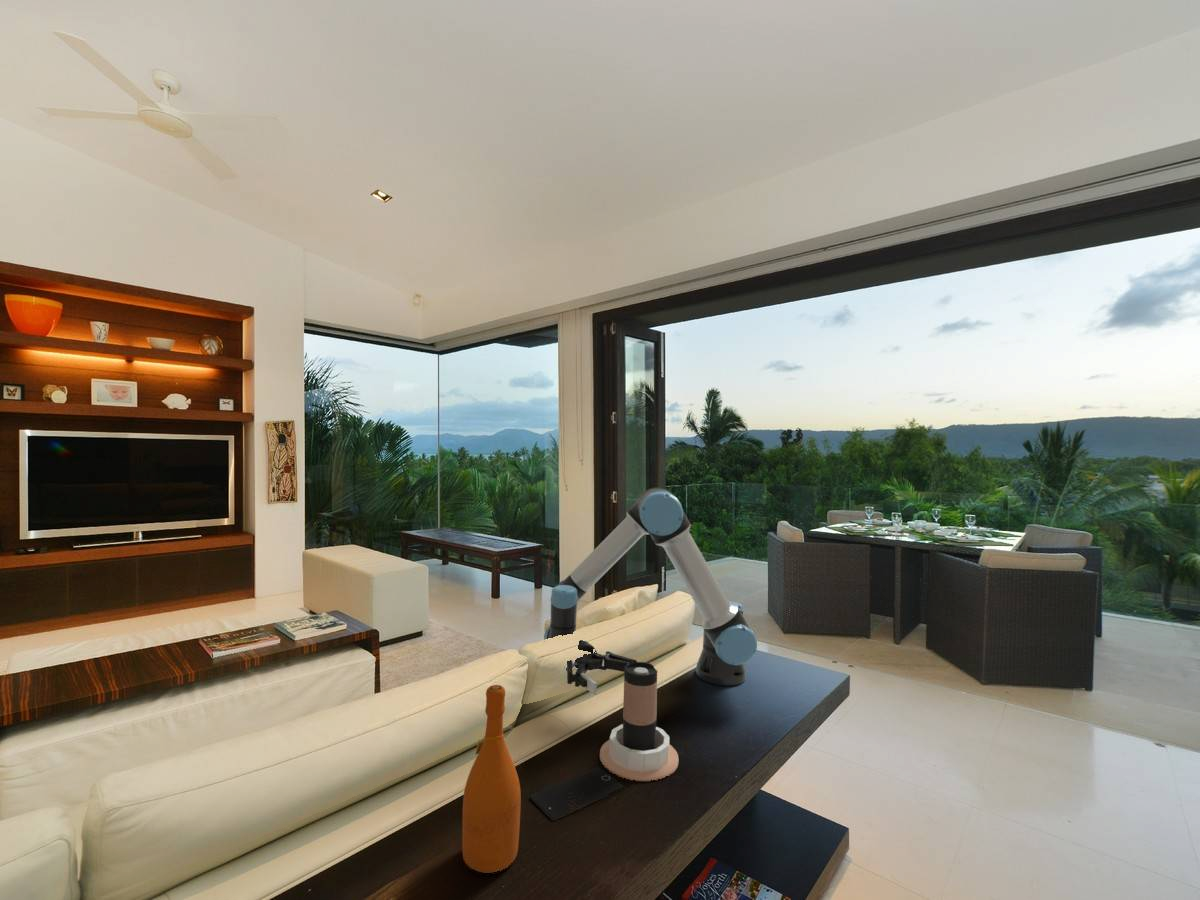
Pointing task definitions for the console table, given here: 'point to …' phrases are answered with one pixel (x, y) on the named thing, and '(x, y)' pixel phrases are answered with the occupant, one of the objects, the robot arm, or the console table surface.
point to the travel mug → (639, 706)
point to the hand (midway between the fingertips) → (619, 683)
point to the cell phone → (587, 783)
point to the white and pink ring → (639, 757)
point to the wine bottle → (491, 797)
